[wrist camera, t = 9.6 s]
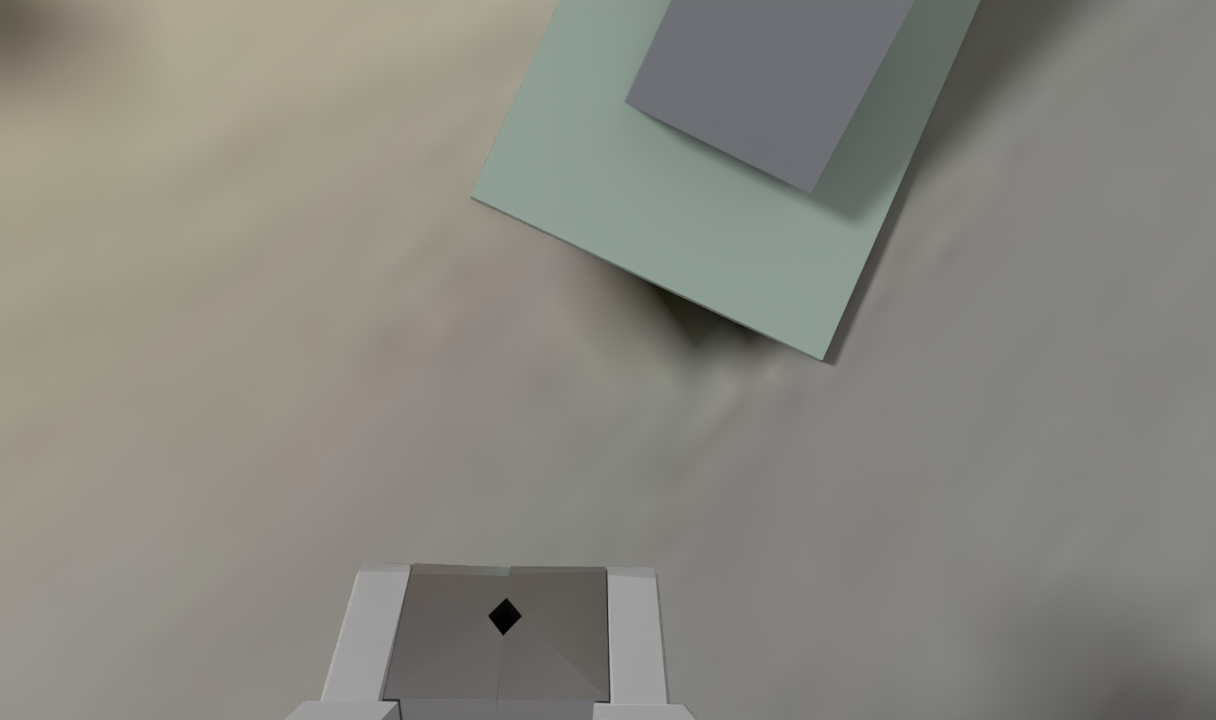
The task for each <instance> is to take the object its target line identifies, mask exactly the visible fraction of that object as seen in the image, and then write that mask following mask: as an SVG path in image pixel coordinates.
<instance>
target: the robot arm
mask: <svg viewBox="0 0 1216 720" xmlns="http://www.w3.org/2000/svg"><path fill="white" fill-rule="evenodd" d="M285 720H697V718H696V717H695V716H694V715H693V714H692V712H691V711H690V710H689V709H688V707H687V706H686V705H685V704H670V699H669V688H668V678H667V667H666V657H665V646H664V636H663V625H662V615H661V604H660V594H659V583H658V575H657V573H656V571H655V569H654V567H607V568H606V570H605V567H552V566H511V567H491V566H467V565H443V564H419V563H415V564H398V563H373V562H365V563H364V565H363V566H362V568H361V569H360V571H359V572H358V574H357V576H356V580H355V583H354V586H353V590H352V593H351V597H350V600H349V604H348V607H347V611H346V614H345V617H344V621H343V624H342V628H341V631H340V635H339V638H338V642H337V645H336V649H335V652H334V655H333V659H332V662H331V666H330V669H329V673H328V676H327V680H326V683H325V686H324V690H323V693H322V697H321V700H311V701H304V702H303V703H302V704H301V705H300V706H299V707H297V708H296V709H295V710H294V711H293V712H292V713H291V714H290V715H289V716H288V717H287V718H286V719H285Z"/></svg>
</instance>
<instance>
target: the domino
mask: <svg viewBox="0 0 1216 720" xmlns="http://www.w3.org/2000/svg"><path fill="white" fill-rule="evenodd" d="M914 1H915V0H670V2H669V4H668V7H667V9H666V11H665V13H664V15H663V18H662V20H661V22H660V24H659V26H658V28H657V31H656V33H655V35H654V37H653V39H652V42H651V44H650V46H649V48H648V50H647V52H646V55H645V57H644V59H643V61H642V63H641V66H640V68H639V70H638V72H637V74H636V77H635V79H634V81H633V83H632V85H631V87H630V90H629V92H628V94H627V96H626V98H625V101H624V102H625V103H627V104H629V105H631V106H633V107H635V108H637V109H639V110H641V111H643V112H645V113H647V114H649V115H651V116H653V117H655V118H657V119H659V120H661V121H663V122H665V123H667V124H669V125H671V126H673V127H675V128H677V129H679V130H681V131H683V132H686V133H688V134H690V135H692V136H694V137H696V138H698V139H700V140H702V141H704V142H706V143H708V144H710V145H712V146H714V147H716V148H718V149H720V150H722V151H724V152H726V153H728V154H730V155H732V156H734V157H736V158H738V159H740V160H742V161H744V162H746V163H748V164H751V165H753V166H755V167H757V168H759V169H761V170H763V171H765V172H767V173H769V174H771V175H773V176H775V177H777V178H779V179H781V180H783V181H785V182H787V183H789V184H791V185H793V186H795V187H797V188H799V189H801V190H803V191H805V192H807V193H809V194H811V192H812V191H813V189H814V187H815V185H816V183H817V181H818V179H819V178H820V176H821V174H822V172H823V170H824V168H825V166H826V165H827V163H828V161H829V159H830V157H831V155H832V153H833V151H834V150H835V148H836V146H837V144H838V142H839V140H840V138H841V137H842V135H843V133H844V131H845V129H846V127H847V125H848V124H849V122H850V120H851V118H852V116H853V114H854V112H855V111H856V109H857V107H858V105H859V103H860V101H861V99H862V98H863V96H864V94H865V92H866V90H867V88H868V86H869V85H870V83H871V81H872V79H873V77H874V75H875V73H876V72H877V70H878V68H879V66H880V64H881V62H882V60H883V59H884V57H885V55H886V53H887V51H888V49H889V47H890V45H891V44H892V42H893V40H894V38H895V36H896V34H897V32H898V31H899V29H900V27H901V25H902V23H903V21H904V19H905V18H906V16H907V14H908V12H909V10H910V8H911V6H912V5H913V3H914Z"/></svg>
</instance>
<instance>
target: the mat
mask: <svg viewBox="0 0 1216 720" xmlns="http://www.w3.org/2000/svg"><path fill="white" fill-rule="evenodd" d="M980 1H981V0H915V1H914V3H913V5H912V6H911V8H910V10H909V12H908V14H907V16H906V18H905V19H904V21H903V23H902V25H901V27H900V29H899V31H898V32H897V34H896V36H895V38H894V40H893V42H892V44H891V45H890V47H889V49H888V51H887V53H886V55H885V57H884V59H883V60H882V62H881V64H880V66H879V68H878V70H877V72H876V73H875V75H874V77H873V79H872V81H871V83H870V85H869V86H868V88H867V90H866V92H865V94H864V96H863V98H862V99H861V101H860V103H859V105H858V107H857V109H856V111H855V112H854V114H853V116H852V118H851V120H850V122H849V124H848V125H847V127H846V129H845V131H844V133H843V135H842V137H841V138H840V140H839V142H838V144H837V146H836V148H835V150H834V151H833V153H832V155H831V157H830V159H829V161H828V163H827V165H826V166H825V168H824V170H823V172H822V174H821V176H820V178H819V179H818V181H817V183H816V185H815V187H814V189H813V191H812V192H811V194H809V193H807V192H805V191H803V190H801V189H799V188H797V187H795V186H793V185H791V184H789V183H787V182H785V181H783V180H781V179H779V178H777V177H775V176H773V175H771V174H769V173H767V172H765V171H763V170H761V169H759V168H757V167H755V166H753V165H751V164H748V163H746V162H744V161H742V160H740V159H738V158H736V157H734V156H732V155H730V154H728V153H726V152H724V151H722V150H720V149H718V148H716V147H714V146H712V145H710V144H708V143H706V142H704V141H702V140H700V139H698V138H696V137H694V136H692V135H690V134H688V133H686V132H683V131H681V130H679V129H677V128H675V127H673V126H671V125H669V124H667V123H665V122H663V121H661V120H659V119H657V118H655V117H653V116H651V115H649V114H647V113H645V112H643V111H641V110H639V109H637V108H635V107H633V106H631V105H629V104H627V103H625V102H624V101H625V98H626V96H627V94H628V92H629V90H630V87H631V85H632V83H633V81H634V79H635V77H636V74H637V72H638V70H639V68H640V66H641V63H642V61H643V59H644V57H645V55H646V52H647V50H648V48H649V46H650V44H651V42H652V39H653V37H654V35H655V33H656V31H657V28H658V26H659V24H660V22H661V20H662V18H663V15H664V13H665V11H666V9H667V7H668V4H669V2H670V0H560V1H559V4H558V6H557V8H556V10H555V12H554V14H553V17H552V19H551V21H550V23H549V25H548V28H547V30H546V32H545V34H544V36H543V39H542V41H541V43H540V45H539V47H538V49H537V52H536V54H535V56H534V58H533V60H532V63H531V65H530V67H529V69H528V71H527V74H526V76H525V78H524V80H523V82H522V84H521V87H520V89H519V91H518V93H517V95H516V98H515V100H514V102H513V104H512V106H511V109H510V111H509V113H508V115H507V117H506V119H505V122H504V124H503V126H502V128H501V130H500V133H499V135H498V137H497V139H496V141H495V144H494V146H493V148H492V150H491V152H490V154H489V157H488V159H487V161H486V163H485V165H484V168H483V170H482V172H481V174H480V176H479V179H478V181H477V183H476V185H475V187H474V189H473V192H472V194H471V199H473V200H475V201H477V202H480V203H482V204H484V205H486V206H488V207H490V208H492V209H495V210H497V211H499V212H501V213H503V214H505V215H507V216H510V217H512V218H514V219H516V220H518V221H520V222H522V223H525V224H527V225H529V226H531V227H533V228H535V229H537V230H540V231H542V232H544V233H546V234H548V235H550V236H552V237H554V238H557V239H559V240H561V241H563V242H565V243H567V244H569V245H572V246H574V247H576V248H578V249H580V250H582V251H584V252H587V253H589V254H591V255H593V256H595V257H597V258H599V259H602V260H604V261H606V262H608V263H610V264H612V265H614V266H617V267H619V268H621V269H623V270H625V271H627V272H629V273H631V274H634V275H636V276H638V277H640V278H642V279H644V280H646V281H649V282H651V283H653V284H655V285H657V286H659V287H661V288H664V289H666V290H668V291H670V292H672V293H674V294H676V295H679V296H681V297H683V298H685V299H687V300H689V301H691V302H694V303H696V304H698V305H700V306H702V307H704V308H706V309H708V310H711V311H713V312H715V313H717V314H719V315H721V316H723V317H726V318H728V319H730V320H732V321H734V322H736V323H738V324H741V325H743V326H745V327H747V328H749V329H751V330H753V331H756V332H758V333H760V334H762V335H764V336H766V337H768V338H771V339H773V340H775V341H777V342H779V343H781V344H783V345H785V346H788V347H790V348H792V349H794V350H796V351H798V352H800V353H803V354H805V355H807V356H809V357H811V358H813V359H815V360H823V358H824V355H825V353H826V351H827V349H828V346H829V344H830V342H831V339H832V337H833V335H834V333H835V330H836V328H837V326H838V324H839V321H840V319H841V317H842V314H843V312H844V310H845V308H846V305H847V303H848V301H849V299H850V296H851V294H852V292H853V289H854V287H855V285H856V283H857V280H858V278H859V276H860V274H861V271H862V269H863V267H864V264H865V262H866V260H867V258H868V255H869V253H870V251H871V249H872V246H873V244H874V242H875V239H876V237H877V235H878V233H879V230H880V228H881V226H882V224H883V221H884V219H885V217H886V214H887V212H888V210H889V208H890V205H891V203H892V201H893V199H894V196H895V194H896V192H897V189H898V187H899V185H900V183H901V180H902V178H903V176H904V174H905V171H906V169H907V167H908V164H909V162H910V160H911V158H912V155H913V153H914V151H915V149H916V146H917V144H918V142H919V139H920V137H921V135H922V133H923V130H924V128H925V126H926V124H927V121H928V119H929V117H930V114H931V112H932V110H933V108H934V105H935V103H936V101H937V99H938V96H939V94H940V92H941V89H942V87H943V85H944V83H945V80H946V78H947V76H948V74H949V71H950V69H951V67H952V64H953V62H954V60H955V58H956V55H957V53H958V51H959V49H960V46H961V44H962V42H963V39H964V37H965V35H966V33H967V30H968V28H969V26H970V24H971V21H972V19H973V17H974V14H975V12H976V10H977V8H978V5H979V3H980Z"/></svg>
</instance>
